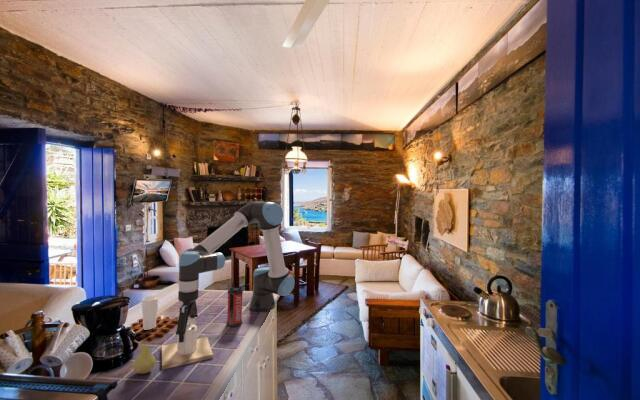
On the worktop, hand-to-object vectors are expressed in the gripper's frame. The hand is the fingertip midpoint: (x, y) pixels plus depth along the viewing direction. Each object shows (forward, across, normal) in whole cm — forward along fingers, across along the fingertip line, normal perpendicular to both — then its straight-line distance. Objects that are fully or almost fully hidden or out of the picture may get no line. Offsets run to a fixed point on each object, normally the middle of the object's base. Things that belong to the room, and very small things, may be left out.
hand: (187, 340), depth 120 cm
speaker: (+5, -27, +16) cm, 32 cm away
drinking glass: (+5, -24, -24) cm, 34 cm away
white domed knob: (+4, 0, 0) cm, 4 cm away
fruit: (+5, +12, -12) cm, 17 cm away
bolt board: (+5, 0, 0) cm, 5 cm away
